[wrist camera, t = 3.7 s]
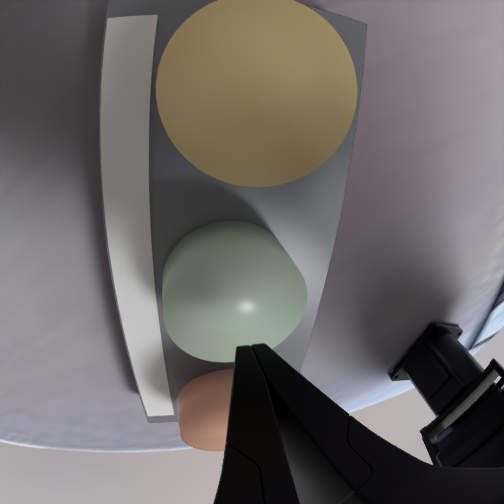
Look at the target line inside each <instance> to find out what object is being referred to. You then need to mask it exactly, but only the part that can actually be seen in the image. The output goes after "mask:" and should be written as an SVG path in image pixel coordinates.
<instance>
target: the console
mask: <svg viewBox="0 0 504 504" xmlns="http://www.w3.org/2000/svg"><path fill="white" fill-rule="evenodd" d="M215 1H217V0H108V4H107V10H106V16H105V24H104V31H103V40H102V50H101V61H100V75H99V96H98V154H99V175H100V190H101V202H102V213H103V223H104V231H105V239H106V247H107V254H108V260H109V267H110V273H111V279H112V285H113V290H114V295H115V301H116V306H117V310H118V315H119V320H120V324H121V329H122V333H123V337H124V341H125V345H126V349H127V353H128V357H129V361H130V365H131V368H132V372H133V375H134V379H135V382H136V386H137V389H138V392H139V395H140V399H141V402H142V405H143V408H144V411H145V414H146V417H147V420H148V423H161V422H178V421H179V419H178V411H177V402H176V400H177V396H178V393H179V392H180V390H181V389H182V388H183V387H184V386H185V385H186V384H187V383H189V382H190V381H192V380H193V379H195V378H197V377H199V376H202V375H204V374H207V373H210V372H214V371H219V370H225V369H234V362H212V361H207V360H202V359H199V358H197V357H194V356H192V355H190V354H188V353H186V352H185V351H183V350H182V349H180V348H179V347H178V346H177V345H176V344H175V343H174V342H173V340H172V339H171V338H170V336H169V334H168V333H167V330H166V328H165V325H164V320H163V297H162V275H163V269H164V266H165V263H166V260H167V258H168V256H169V254H170V253H171V251H172V250H173V249H174V247H175V246H176V245H177V244H178V243H179V242H180V241H181V240H182V239H183V238H184V237H185V236H187V235H188V234H190V233H191V232H193V231H194V230H196V229H198V228H200V227H202V226H205V225H208V224H211V223H215V222H220V221H230V220H232V221H244V222H249V223H252V224H255V225H258V226H260V227H262V228H264V229H266V230H267V231H269V232H270V233H271V234H272V235H273V236H275V237H276V239H277V240H278V241H279V242H280V243H281V245H282V246H283V248H284V249H285V251H286V252H287V253H288V255H289V256H290V258H291V259H292V260H293V262H294V263H295V265H296V266H297V268H298V269H299V270H300V272H301V274H302V276H303V277H304V280H305V283H306V287H307V303H306V308H305V311H304V314H303V316H302V318H301V320H300V322H299V323H298V325H297V327H296V328H295V329H294V330H293V332H292V333H291V334H290V335H289V336H288V337H287V338H286V339H285V340H284V341H282V342H281V343H280V344H279V345H277V346H276V347H274V348H273V349H272V350H274V351H275V352H276V353H277V354H278V355H279V356H280V357H281V358H283V359H284V360H285V361H286V362H287V363H288V364H290V365H291V366H292V367H293V368H294V369H295V370H297V371H298V372H299V373H300V370H301V367H302V364H303V360H304V357H305V354H306V350H307V347H308V344H309V340H310V337H311V333H312V330H313V326H314V322H315V319H316V315H317V311H318V308H319V304H320V300H321V296H322V292H323V288H324V284H325V280H326V276H327V272H328V268H329V264H330V260H331V255H332V251H333V247H334V242H335V238H336V233H337V229H338V224H339V219H340V214H341V209H342V204H343V199H344V194H345V189H346V184H347V178H348V173H349V167H350V161H351V155H352V149H353V143H354V137H355V130H356V123H357V116H358V109H359V101H360V93H361V85H362V76H363V67H364V57H365V46H366V33H367V24H365V23H363V22H360V21H357V20H354V19H351V18H348V17H345V16H342V15H338V14H335V13H332V12H328V11H325V10H321V9H317V8H313V7H309V6H307V7H309V8H311V9H312V10H314V11H315V12H316V13H318V14H319V15H320V16H322V17H323V18H324V19H325V20H326V21H327V22H328V23H329V24H330V25H331V26H332V27H333V28H334V29H335V30H336V32H337V33H338V34H339V35H340V37H341V39H342V40H343V42H344V43H345V45H346V47H347V49H348V51H349V53H350V56H351V58H352V61H353V65H354V68H355V73H356V78H357V103H356V108H355V114H354V117H353V120H352V123H351V126H350V128H349V130H348V132H347V134H346V136H345V138H344V140H343V141H342V143H341V144H340V146H339V147H338V148H337V150H336V151H335V152H334V153H333V155H332V156H331V157H330V158H329V159H328V160H327V161H325V162H324V163H323V164H322V165H321V166H319V167H318V168H317V169H315V170H314V171H312V172H311V173H309V174H307V175H305V176H304V177H301V178H299V179H297V180H295V181H292V182H289V183H285V184H282V185H277V186H271V187H243V186H238V185H233V184H229V183H226V182H223V181H220V180H218V179H216V178H214V177H212V176H209V175H207V174H206V173H204V172H203V171H201V170H200V169H198V168H196V167H195V166H194V165H193V164H192V163H190V162H189V161H188V160H187V159H186V158H185V157H184V156H183V155H182V154H181V153H180V152H179V151H178V149H177V148H176V147H175V145H174V144H173V142H172V141H171V139H170V138H169V136H168V134H167V132H166V130H165V128H164V126H163V124H162V121H161V118H160V114H159V111H158V106H157V99H156V79H157V72H158V67H159V64H160V61H161V57H162V55H163V52H164V50H165V48H166V46H167V44H168V42H169V41H170V39H171V38H172V36H173V35H174V33H175V32H176V30H177V29H178V28H179V27H180V26H181V25H182V24H183V23H184V22H185V21H186V20H187V19H188V18H189V17H190V16H192V15H193V14H194V13H195V12H197V11H198V10H200V9H202V8H203V7H205V6H206V5H208V4H210V3H213V2H215Z"/></svg>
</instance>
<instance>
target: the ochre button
mask: <svg viewBox="0 0 504 504" xmlns="http://www.w3.org/2000/svg"><path fill="white" fill-rule="evenodd" d="M156 99H157V106H158V111H159V114H160V118H161V121H162V124H163V126H164V128H165V130H166V132H167V134H168V136H169V138H170V139H171V141H172V142H173V144H174V145H175V147H176V148H177V149H178V151H179V152H180V153H181V154H182V155H183V156H184V157H185V158H186V159H187V160H188V161H189V162H190V163H192V164H193V165H194V166H195V167H196V168H198V169H200V170H201V171H203V172H204V173H206V174H207V175H209V176H212V177H214V178H216V179H218V180H220V181H223V182H226V183H229V184H233V185H238V186H243V187H271V186H277V185H282V184H285V183H289V182H292V181H295V180H297V179H299V178H301V177H304V176H305V175H307V174H309V173H311V172H312V171H314V170H315V169H317V168H318V167H319V166H321V165H322V164H323V163H324V162H325V161H327V160H328V159H329V158H330V157H331V156H332V155H333V153H334V152H335V151H336V150H337V148H338V147H339V146H340V144H341V143H342V141H343V140H344V138H345V136H346V134H347V132H348V130H349V128H350V126H351V123H352V120H353V117H354V114H355V108H356V103H357V78H356V73H355V68H354V65H353V61H352V58H351V56H350V53H349V51H348V49H347V47H346V45H345V43H344V42H343V40H342V39H341V37H340V35H339V34H338V33H337V32H336V30H335V29H334V28H333V27H332V26H331V25H330V24H329V23H328V22H327V21H326V20H325V19H324V18H323V17H322V16H320V15H319V14H318V13H316V12H315V11H314V10H312V9H311V8H309V7H307V6H305V5H303V4H301V3H299V2H297V1H294V0H217V1H215V2H213V3H210V4H208V5H206V6H205V7H203V8H202V9H200V10H198V11H197V12H195V13H194V14H193V15H192V16H190V17H189V18H188V19H187V20H186V21H185V22H184V23H183V24H182V25H181V26H180V27H179V28H178V29H177V30H176V32H175V33H174V35H173V36H172V38H171V39H170V41H169V42H168V44H167V46H166V48H165V50H164V52H163V55H162V57H161V61H160V64H159V67H158V72H157V79H156Z"/></svg>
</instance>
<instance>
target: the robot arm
mask: <svg viewBox="0 0 504 504" xmlns="http://www.w3.org/2000/svg"><path fill="white" fill-rule="evenodd" d="M462 332H463V330H462V329H461V328H459V327H454V326H450V325H445V324H440V323H432V324H431V325H430V326H429V327H428V329H427V330H426V331H425V333H424V334H423V335H422V337H421V338H420V339H419V341H418V342H417V343H416V344H415V346H414V347H413V348H412V349H411V351H410V352H409V353H408V354H407V356H406V357H405V358H404V359H403V360H402V362H401V363H400V364H399V365H398V366H397V368H396V369H395V370H394V371H393V372H392V373H391V375H390V376H389V377H390V379H391V380H392V381H400V380H410V381H411V382H412V383H413V385H414V386H415V388H416V389H417V390H418V392H419V393H420V394H421V396H422V397H423V399H424V400H425V401H426V403H427V404H428V406H429V407H430V409H431V410H432V411H433V413H434V414H435V416H436V417H437V418H435V420H433V421H432V422H431V423H430V424H429V425H427V426H426V427H424V428H422V429H421V430H420V433H421V435H422V437H423V438H422V439H423V442H424V444H425V446H426V448H427V451H428V453H429V455H430V458H431V460H432V463H433V465H431V464H428V463H426V462H423V461H421V460H419V459H417V458H416V457H414V456H412V455H410V454H408V453H407V452H405V451H403V450H401V449H400V448H398V447H396V446H394V445H393V444H391V443H389V442H388V441H386V440H384V439H383V438H381V437H380V436H378V435H377V434H375V433H374V432H372V431H371V430H369V429H368V428H367V427H365V426H364V425H363V424H361V423H360V422H359V421H357V420H356V419H355V418H354V417H352V416H349V414H348V413H347V412H346V411H345V410H343V409H342V408H341V407H340V406H338V405H337V404H336V403H335V402H334V401H332V400H331V399H330V398H329V397H327V396H326V395H325V394H324V393H323V392H321V391H320V390H319V389H318V388H317V387H315V386H314V385H313V384H312V383H311V382H309V381H308V380H307V379H306V378H305V377H304V376H302V375H301V374H300V373H299V372H298V371H297V370H295V369H294V368H293V367H292V366H291V365H290V364H288V363H287V362H286V361H285V360H284V359H283V358H281V357H280V356H279V355H278V354H277V353H276V352H275V351H274V350H272V349H271V348H270V347H269V346H268V345H267V344H265V343H258V344H252V345H251V346H250V345H241V346H237V347H236V352H235V361H234V370H233V379H232V388H231V397H230V406H229V415H228V424H227V433H226V443H225V450H224V459H223V465H222V472H221V477H220V481H219V485H218V489H217V493H216V496H215V500H214V503H213V504H504V368H503V367H502V365H501V364H499V362H497V361H496V360H495V359H494V358H493V359H492V360H491V362H490V364H489V365H488V367H487V368H486V369H485V370H484V369H483V368H482V367H481V365H480V364H479V363H478V362H477V361H476V360H475V359H474V357H473V356H472V355H471V354H470V353H469V352H468V351H467V350H466V348H465V347H464V346H463V345H462V344H461V343H460V342H459V341H458V340H457V339H458V338H459V337H460V335H461V334H462ZM499 375H500V376H501V379H500V380H499V381H498V382H497V383H495V382H494V380H495V379H496V378H497V377H498V376H499ZM483 392H484V393H483ZM482 393H483V394H482ZM481 394H482V395H481ZM480 395H481V396H480ZM479 396H480V397H479ZM478 397H479V398H478ZM477 398H478V399H477ZM476 399H477V400H476ZM475 400H476V401H475ZM474 401H475V402H474ZM473 402H474V403H473ZM472 403H473V404H472ZM471 404H472V405H471ZM470 405H471V406H470ZM469 406H470V407H469ZM468 407H469V408H468ZM467 408H468V409H467ZM455 419H456V420H455ZM454 420H455V421H454ZM453 421H454V422H453ZM446 427H447V428H446ZM445 428H446V429H445Z"/></svg>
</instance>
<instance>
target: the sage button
mask: <svg viewBox="0 0 504 504" xmlns="http://www.w3.org/2000/svg"><path fill="white" fill-rule="evenodd" d="M162 297H163V320H164V325H165V328H166V330H167V333H168V334H169V336H170V338H171V339H172V340H173V342H174V343H175V344H176V345H177V346H178V347H179V348H180V349H182V350H183V351H185V352H186V353H188V354H190V355H192V356H194V357H197V358H199V359H202V360H207V361H212V362H234V361H235V352H236V347H237V346H241V345H250V346H251V345H252V344H258V343H265V344H267V345H268V346H269V347H270V348H271V349H273V348H274V347H276V346H277V345H279V344H280V343H281V342H282V341H284V340H285V339H286V338H287V337H288V336H289V335H290V334H291V333H292V332H293V330H294V329H295V328H296V327H297V325H298V323H299V322H300V320H301V318H302V316H303V314H304V311H305V308H306V303H307V287H306V283H305V280H304V277H303V276H302V274H301V272H300V270H299V269H298V268H297V266H296V265H295V263H294V262H293V260H292V259H291V258H290V256H289V255H288V253H287V252H286V251H285V249H284V248H283V246H282V245H281V243H280V242H279V241H278V240H277V239H276V237H275V236H273V235H272V234H271V233H270V232H269V231H267V230H266V229H264V228H262V227H260V226H258V225H255V224H252V223H249V222H244V221H232V220H230V221H220V222H215V223H211V224H208V225H205V226H202V227H200V228H198V229H196V230H194V231H193V232H191V233H190V234H188V235H187V236H185V237H184V238H183V239H182V240H181V241H180V242H179V243H178V244H177V245H176V246H175V247H174V249H173V250H172V251H171V253H170V254H169V256H168V258H167V260H166V263H165V266H164V269H163V275H162Z"/></svg>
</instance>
